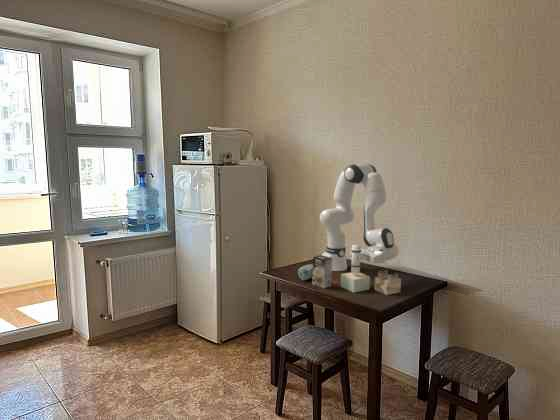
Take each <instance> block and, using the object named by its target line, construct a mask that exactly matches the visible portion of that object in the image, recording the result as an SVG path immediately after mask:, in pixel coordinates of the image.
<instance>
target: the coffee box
mask: <svg viewBox="0 0 560 420" xmlns="http://www.w3.org/2000/svg"><path fill="white" fill-rule="evenodd" d="M312 264H313V278H311V279H312V281H311V283H312V285H313V286H315V285H316V287H318V286H319V287H318V288H321V287H322V288H321V289H326V287H327V288H330V287H332V285H331V282H332V272H333V271H332V258H330V257H326V256H323V255H322V254H319V255H314V256H313V257H312Z"/></svg>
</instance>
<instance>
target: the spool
mask: <svg viewBox="0 0 560 420" xmlns="http://www.w3.org/2000/svg"><path fill="white" fill-rule="evenodd" d="M297 274H298V277H299V279H300V280H301V281H304V282H305V280H306V281H307V280H310V279H312V278H313V263H312V264H306V265H303V266H301V267H299V268H298V269H297Z"/></svg>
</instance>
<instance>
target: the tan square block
mask: <svg viewBox="0 0 560 420" xmlns="http://www.w3.org/2000/svg"><path fill="white" fill-rule="evenodd" d="M388 272H389V270H387V269H383V270H378V272H377V276H375V277H374V288H373V289H374V291H376V292H378V293H381V294H384V295H385V296H389V295H393V294H398V293H401V290H402V289H401V288H402V278H399V273H391V274H389V273H388Z"/></svg>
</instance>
